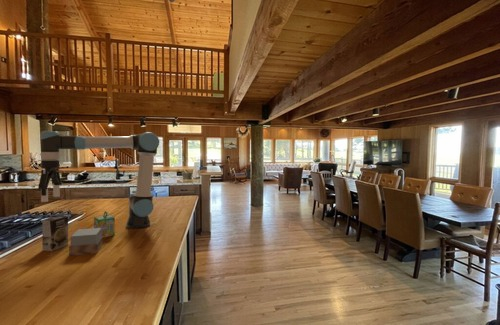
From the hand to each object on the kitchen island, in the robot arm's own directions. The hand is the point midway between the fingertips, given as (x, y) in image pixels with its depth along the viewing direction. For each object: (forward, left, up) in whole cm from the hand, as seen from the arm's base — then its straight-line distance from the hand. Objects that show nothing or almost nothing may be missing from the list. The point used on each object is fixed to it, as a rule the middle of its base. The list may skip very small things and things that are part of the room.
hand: (50, 199), depth 129 cm
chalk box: (-23, -8, -26) cm, 36 cm away
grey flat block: (-19, +13, -21) cm, 31 cm away
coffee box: (-3, +5, -26) cm, 26 cm away
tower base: (-19, +13, -26) cm, 35 cm away
